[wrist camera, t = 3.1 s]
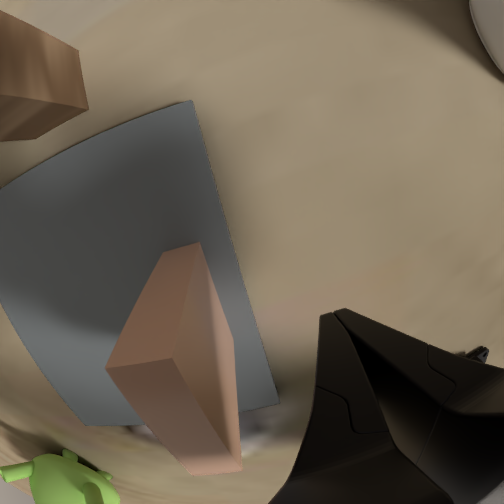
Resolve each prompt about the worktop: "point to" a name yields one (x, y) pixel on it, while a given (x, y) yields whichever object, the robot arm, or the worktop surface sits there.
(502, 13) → the mug
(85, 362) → the mat
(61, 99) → the walnut block
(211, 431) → the tile
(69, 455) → the teapot
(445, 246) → the worktop surface
